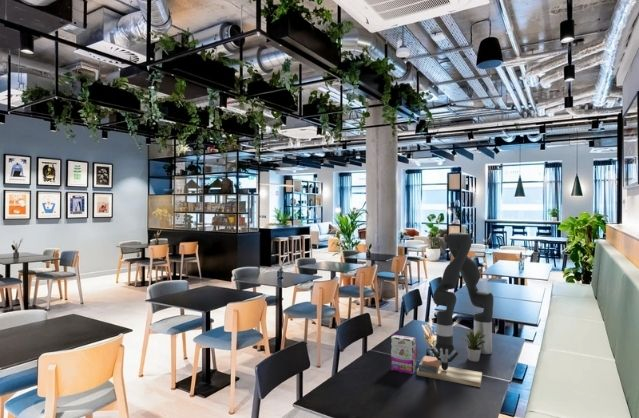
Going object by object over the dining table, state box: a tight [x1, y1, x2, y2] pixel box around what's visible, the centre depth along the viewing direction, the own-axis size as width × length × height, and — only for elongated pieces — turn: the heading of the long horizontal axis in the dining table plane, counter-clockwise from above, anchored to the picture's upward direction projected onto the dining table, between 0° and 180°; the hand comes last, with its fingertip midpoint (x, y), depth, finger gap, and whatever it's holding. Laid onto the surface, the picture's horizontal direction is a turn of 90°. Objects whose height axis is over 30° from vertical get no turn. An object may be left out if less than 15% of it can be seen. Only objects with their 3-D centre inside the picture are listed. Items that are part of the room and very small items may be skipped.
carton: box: [423, 355, 441, 373], centre depth 190 cm, size 7×7×4 cm
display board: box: [416, 355, 483, 388], centre depth 187 cm, size 12×28×5 cm, turn 64°
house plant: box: [462, 327, 488, 363], centre depth 205 cm, size 14×14×16 cm
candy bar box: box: [390, 334, 417, 375], centre depth 192 cm, size 11×5×16 cm, turn 62°
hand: (444, 369), depth 188 cm, fingers closed
